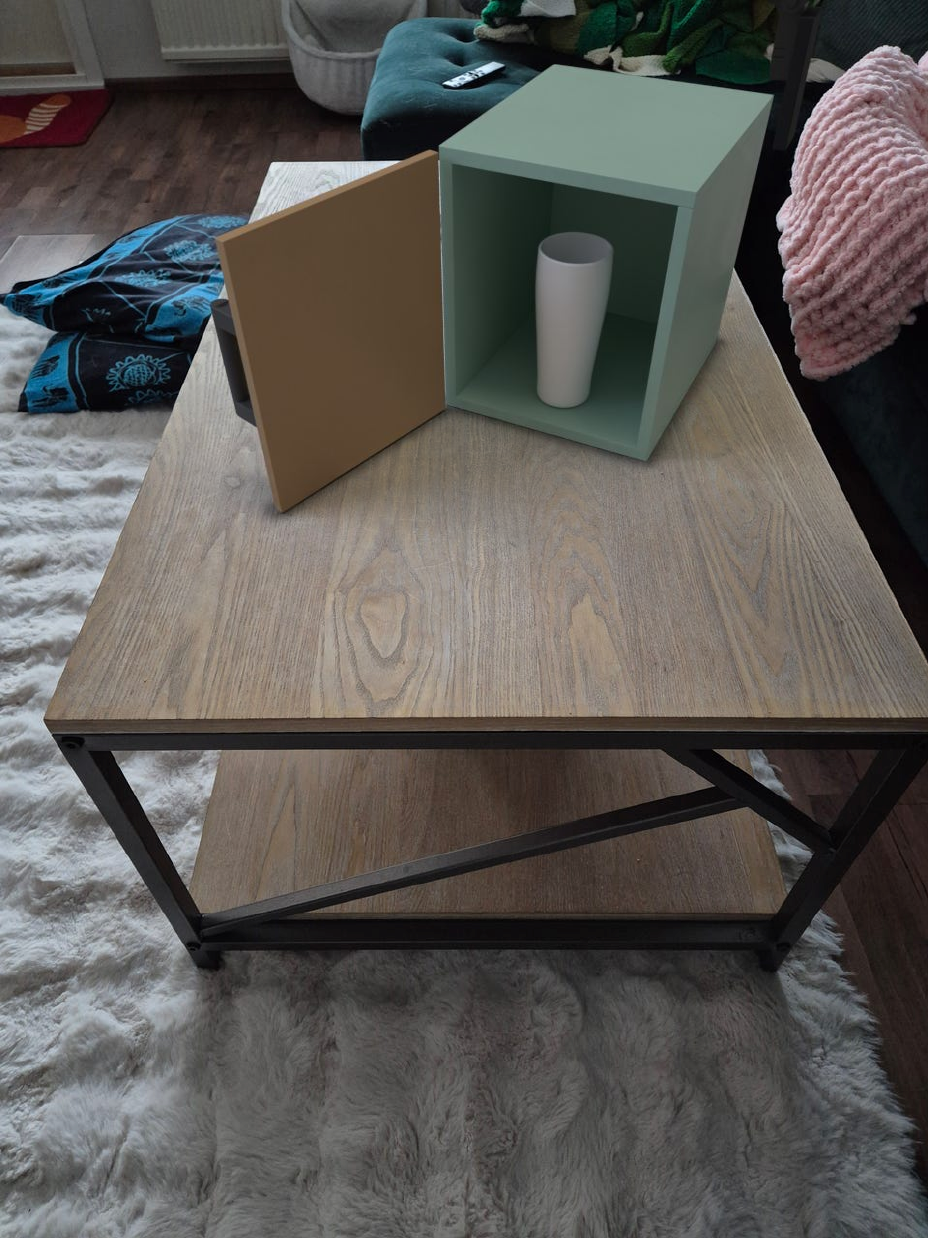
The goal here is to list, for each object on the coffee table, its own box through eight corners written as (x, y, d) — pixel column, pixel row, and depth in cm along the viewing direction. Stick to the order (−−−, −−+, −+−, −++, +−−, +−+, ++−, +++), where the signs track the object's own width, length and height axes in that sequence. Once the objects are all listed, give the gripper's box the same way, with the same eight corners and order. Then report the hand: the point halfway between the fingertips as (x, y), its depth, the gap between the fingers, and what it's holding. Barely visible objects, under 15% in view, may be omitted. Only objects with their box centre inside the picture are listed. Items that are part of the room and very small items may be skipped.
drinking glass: (594, 417, 83) (613, 267, 72) (525, 411, 84) (533, 262, 73) (598, 379, 87) (616, 233, 76) (532, 374, 88) (541, 228, 77)
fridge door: (237, 483, 78) (168, 215, 60) (401, 385, 89) (383, 133, 71) (282, 513, 75) (223, 241, 58) (445, 408, 86) (438, 151, 68)
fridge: (646, 461, 80) (697, 191, 62) (445, 404, 87) (438, 145, 69) (716, 342, 95) (774, 94, 76) (539, 300, 101) (553, 63, 83)
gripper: (1461, -454, 32) (1151, 158, 47) (781, -393, 40) (705, 114, 55) (1529, -478, 27) (1161, 208, 43) (746, -404, 35) (673, 152, 51)
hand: (903, 156), depth 49 cm, fingers open, 13 cm apart
